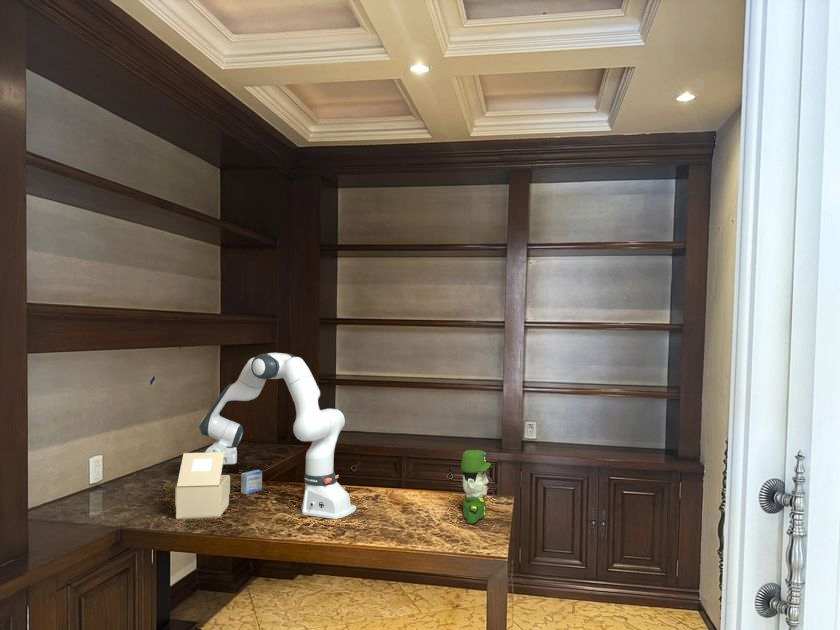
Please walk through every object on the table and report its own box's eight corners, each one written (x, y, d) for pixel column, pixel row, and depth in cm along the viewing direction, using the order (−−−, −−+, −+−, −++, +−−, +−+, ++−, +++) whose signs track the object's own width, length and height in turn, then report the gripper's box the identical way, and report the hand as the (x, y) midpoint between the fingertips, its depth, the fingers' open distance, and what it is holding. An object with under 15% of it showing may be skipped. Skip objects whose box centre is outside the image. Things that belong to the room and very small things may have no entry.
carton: (187, 505, 213) (187, 476, 213) (230, 504, 215) (230, 474, 215) (174, 519, 198) (175, 487, 198) (221, 517, 200) (221, 485, 200)
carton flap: (184, 453, 206) (183, 453, 206) (224, 452, 208) (224, 452, 207) (177, 486, 199) (176, 486, 198) (219, 485, 200) (218, 484, 200)
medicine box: (246, 494, 227) (247, 474, 227) (240, 492, 229) (240, 473, 229) (262, 490, 233) (262, 470, 233) (256, 488, 236) (256, 469, 236)
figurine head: (488, 526, 193) (488, 458, 193) (456, 523, 195) (456, 456, 196) (492, 506, 214) (493, 445, 214) (464, 504, 217) (464, 443, 217)
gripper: (190, 448, 222) (179, 456, 209) (240, 447, 225) (232, 455, 211) (190, 463, 222) (179, 472, 209) (240, 461, 225) (232, 470, 211)
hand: (206, 463), depth 210 cm, fingers closed
